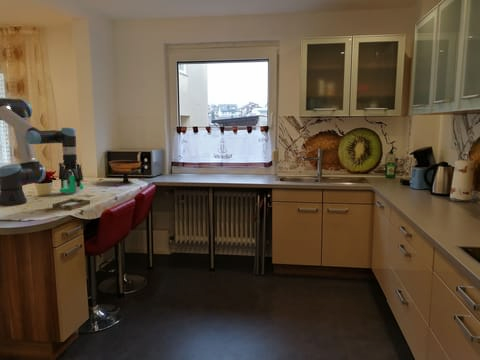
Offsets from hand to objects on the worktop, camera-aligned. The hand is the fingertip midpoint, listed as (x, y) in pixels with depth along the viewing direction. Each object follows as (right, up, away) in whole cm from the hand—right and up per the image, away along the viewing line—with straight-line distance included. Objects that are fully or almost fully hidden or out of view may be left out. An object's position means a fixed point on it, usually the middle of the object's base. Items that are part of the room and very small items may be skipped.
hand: (71, 191), depth 224 cm
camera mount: (0, -1, 0) cm, 1 cm away
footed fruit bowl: (+6, +4, +87) cm, 88 cm away
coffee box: (-19, -3, +38) cm, 43 cm away
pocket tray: (0, -9, +1) cm, 9 cm away
